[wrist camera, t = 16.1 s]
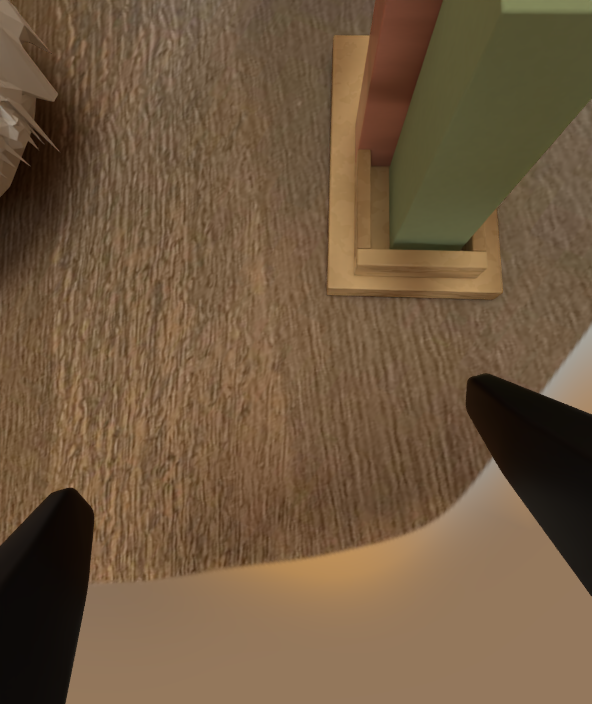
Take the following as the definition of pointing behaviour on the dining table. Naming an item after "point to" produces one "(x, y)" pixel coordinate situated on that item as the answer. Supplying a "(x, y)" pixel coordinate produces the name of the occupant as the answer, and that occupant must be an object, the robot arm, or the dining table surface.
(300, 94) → the dining table surface
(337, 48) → the holder
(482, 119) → the tall sage green pillar
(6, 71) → the bowl
